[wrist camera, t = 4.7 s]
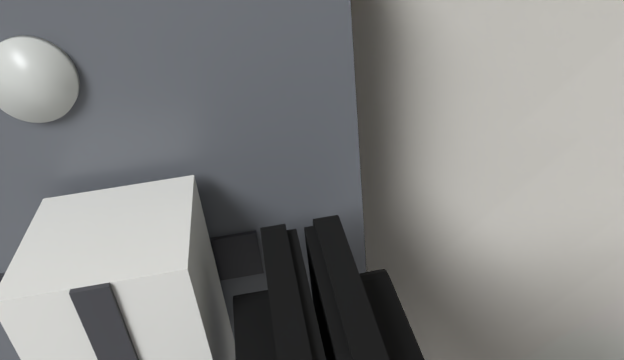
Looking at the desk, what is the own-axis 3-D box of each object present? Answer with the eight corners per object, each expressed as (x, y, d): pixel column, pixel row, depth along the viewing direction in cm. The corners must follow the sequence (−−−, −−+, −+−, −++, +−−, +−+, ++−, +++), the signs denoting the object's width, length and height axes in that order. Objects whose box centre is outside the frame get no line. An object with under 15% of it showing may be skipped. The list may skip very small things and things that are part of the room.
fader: (194, 175, 11) (187, 273, 8) (235, 345, 14) (240, 462, 11) (42, 199, 11) (-13, 307, 8) (114, 368, 13) (88, 492, 11)
